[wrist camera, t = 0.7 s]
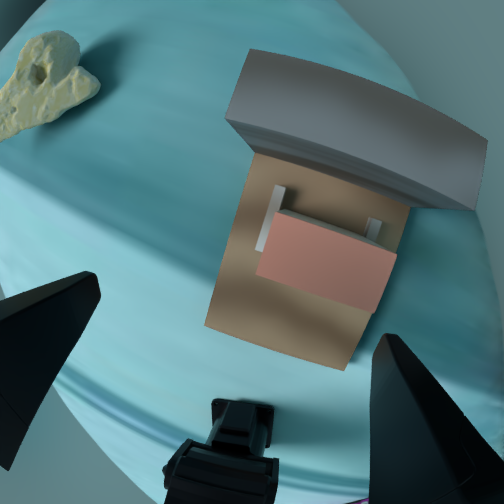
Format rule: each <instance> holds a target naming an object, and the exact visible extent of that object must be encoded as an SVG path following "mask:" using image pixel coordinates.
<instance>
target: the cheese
mask: <svg viewBox="0 0 504 504" xmlns="http://www.w3.org/2000/svg"><path fill="white" fill-rule="evenodd" d="M79 61H80V46H79V43H78V42H77V41H76V40H75V39H74V37H72V36H70V35H69V34H68V33H65V32H64V31H51V32H46V33H43V34H40V35H38V36H36V37H34V38H31V39H30V40H28V41H27V43H26V44H25V46H24V47H23V49H22V50H21V52H20V54H19V59H18V62H17V65H16V69H15V71H14V73H13V75H12V76H11V78H10V79H9V80H8V81H7V83H6V84H5V85H4V87H3V88H2V89H1V90H0V142H2V141H3V140H5V139H7V138H11V137H12V136H14V135H16V134H18V133H19V132H20V131H21V130H25V129H31V128H33V127H35V126H39V125H43V124H44V123H46V122H52V121H54V120H55V119H58V118H59V117H60V116H61V115H62V114H63V113H64V112H65V111H67V110H68V109H70V108H72V107H74V106H77V105H79V104H81V103H82V102H84V101H85V100H87V99H90V98H92V97H93V96H95V95H96V94H97V93H98V92H99V89H100V87H101V83H100V82H99V81H98V79H97V78H96V77H95V76H93V75H92V74H90V73H89V72H88V71H86V70H85V69H84V68H83V67H81V66H78V64H79Z"/></svg>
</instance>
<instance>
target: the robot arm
mask: <svg viewBox="0 0 504 504" xmlns="http://www.w3.org/2000/svg"><path fill="white" fill-rule="evenodd" d="M100 299H101V292H100V287H99V283H98V278H97V276H96V274H94V273H92V272H88V271H83V272H80V273H77V274H74V275H71V276H68V277H66V278H63V279H60V280H57V281H54V282H51V283H48V284H45V285H42V286H40V287H37V288H34V289H31V290H28V291H26V292H23V293H20V294H17V295H14V296H12V297H9V298H6V299H4V300H1V301H0V466H1V467H3V468H4V469H5V470H7V471H9V470H10V467H11V465H12V463H13V461H14V459H15V456H16V454H17V452H18V450H19V447H20V445H21V443H22V441H23V439H24V437H25V435H26V432H27V431H28V429H29V426H30V424H31V422H32V420H33V418H34V416H35V414H36V412H37V410H38V408H39V407H40V405H41V403H42V401H43V399H44V397H45V396H46V394H47V392H48V390H49V388H50V387H51V385H52V383H53V381H54V380H55V378H56V376H57V374H58V373H59V371H60V369H61V368H62V366H63V364H64V363H65V361H66V359H67V358H68V356H69V354H70V353H71V351H72V350H73V348H74V346H75V345H76V343H77V342H78V340H79V338H80V337H81V335H82V333H83V331H84V330H85V328H86V326H87V324H88V322H89V320H90V318H91V316H92V314H93V312H94V311H95V309H96V307H97V305H98V303H99V301H100ZM216 403H218V404H216ZM211 406H212V426H213V428H212V430H211V432H210V435H209V437H208V439H207V442H206V444H203V443H199V442H196V441H193V440H192V439H189V438H188V439H187V440H186V441H185V442H184V443H183V444H182V445H181V446H180V447H179V449H178V450H177V451H176V452H175V454H174V455H173V456H172V457H171V459H170V460H169V461H168V464H167V465H165V466H164V467H163V469H162V472H163V474H164V476H165V478H164V488H165V489H167V490H168V491H167V495H166V498H165V502H164V504H274V501H275V497H276V493H277V487H278V475H279V458H267V457H263V455H264V450H265V448H269V447H270V444H271V435H272V427H273V418H274V408H273V407H272V406H266V405H257V404H249V403H241V402H234V401H227V400H221V399H214V400H213V401H212V403H211ZM268 410H271V411H268ZM266 444H267V445H266ZM368 504H504V461H503V460H502V459H501V458H500V456H499V455H498V454H497V453H496V452H495V451H494V450H493V449H492V448H491V446H490V445H489V444H488V443H487V442H486V441H485V439H484V438H483V437H482V436H481V435H480V434H479V432H478V431H477V430H476V429H475V427H474V426H473V425H472V424H471V422H470V421H469V420H468V418H467V417H466V416H464V413H463V412H462V411H461V410H460V408H459V407H458V406H457V405H456V403H455V402H454V401H453V400H452V398H451V397H450V396H449V395H448V393H447V392H446V391H445V390H444V389H443V387H442V386H441V385H440V384H439V382H438V381H437V380H436V379H435V378H434V376H433V375H432V374H431V373H430V372H429V370H428V369H427V368H426V367H425V366H424V365H423V363H422V362H421V361H420V360H419V359H418V358H417V356H416V355H415V354H414V353H413V352H412V351H411V349H410V348H409V347H408V346H407V345H406V344H405V343H404V341H403V340H402V339H401V338H400V337H399V336H398V335H396V334H390V333H385V334H383V335H382V337H381V339H380V341H379V343H378V345H377V347H376V349H375V351H374V353H373V357H372V373H371V391H370V484H369V501H368Z"/></svg>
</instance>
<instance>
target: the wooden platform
mask: <svg viewBox="0 0 504 504" xmlns="http://www.w3.org/2000/svg"><path fill="white" fill-rule="evenodd" d="M225 119H226V121H227V122H228V123H229V124H230V125H231V126H232V127H233V128H234V129H235V130H236V132H237V133H238V134H239V135H240V136H241V137H242V138H243V139H244V141H245V142H246V143H247V144H248V145H249V146H250V147H251V149H252V150H253V151H254V152H255V154H254V157H253V160H252V164H251V167H250V170H249V173H248V176H247V180H246V183H245V186H244V189H243V193H242V196H241V199H240V202H239V206H238V209H237V212H236V216H235V219H234V222H233V226H232V229H231V232H230V236H229V239H228V243H227V246H226V249H225V253H224V256H223V260H222V263H221V267H220V270H219V274H218V277H217V281H216V284H215V288H214V291H213V295H212V298H211V302H210V306H209V309H208V313H207V317H206V320H205V324H204V326H206V327H209V328H211V329H214V330H217V331H219V332H222V333H225V334H228V335H230V336H233V337H236V338H239V339H241V340H244V341H247V342H250V343H253V344H256V345H259V346H262V347H265V348H268V349H271V350H274V351H277V352H280V353H283V354H286V355H290V356H293V357H296V358H299V359H303V360H306V361H309V362H313V363H316V364H320V365H323V366H327V367H331V368H334V369H338V370H342V371H344V370H345V368H346V366H347V364H348V362H349V360H350V358H351V357H352V355H353V353H354V351H355V349H356V346H357V344H358V342H359V340H360V338H361V336H362V334H363V332H364V330H365V328H366V325H367V323H368V321H369V319H370V317H371V314H372V313H371V312H368V311H364V310H361V309H358V308H355V307H352V306H349V305H346V304H343V303H339V302H336V301H333V300H330V299H327V298H324V297H321V296H318V295H315V294H312V293H309V292H306V291H303V290H300V289H297V288H294V287H291V286H288V285H285V284H282V283H279V282H276V281H273V280H270V279H267V278H264V277H261V276H258V275H255V274H256V271H257V267H258V264H259V261H260V258H261V255H262V252H263V249H264V246H265V243H266V239H267V236H268V233H269V230H270V227H271V224H272V221H273V217H274V214H275V212H276V211H279V210H283V209H287V210H290V211H293V212H296V213H299V214H302V215H305V216H308V217H311V218H314V219H317V220H320V221H323V222H326V223H328V224H331V225H334V226H337V227H340V228H343V229H345V230H348V231H351V232H354V233H357V234H359V235H361V236H363V237H365V238H367V239H369V240H371V241H373V242H375V243H377V244H379V245H380V246H382V247H384V248H386V249H388V250H390V251H392V252H394V253H395V254H396V251H397V248H398V246H399V243H400V240H401V237H402V234H403V231H404V227H405V224H406V221H407V218H408V215H409V211H410V208H411V207H419V208H438V209H454V210H468V211H475V208H476V203H477V199H478V195H479V190H480V185H481V180H482V175H483V169H484V163H485V157H486V150H487V142H488V140H486V139H485V138H484V137H482V136H480V135H479V134H477V133H476V132H474V131H473V130H471V129H469V128H468V127H466V126H464V125H463V124H461V123H459V122H457V121H456V120H454V119H452V118H450V117H448V116H447V115H445V114H443V113H441V112H439V111H437V110H435V109H433V108H431V107H429V106H428V105H425V104H424V103H422V102H419V101H417V100H415V99H413V98H411V97H409V96H407V95H404V94H402V93H400V92H397V91H395V90H393V89H390V88H388V87H386V86H383V85H381V84H378V83H375V82H373V81H370V80H367V79H365V78H362V77H359V76H356V75H353V74H350V73H347V72H344V71H341V70H338V69H335V68H332V67H328V66H325V65H321V64H318V63H314V62H311V61H307V60H303V59H299V58H295V57H290V56H286V55H281V54H276V53H271V52H266V51H261V50H255V49H250V50H249V53H248V55H247V58H246V60H245V63H244V65H243V68H242V71H241V73H240V76H239V79H238V81H237V84H236V87H235V90H234V92H233V95H232V98H231V101H230V104H229V107H228V109H227V112H226V115H225Z"/></svg>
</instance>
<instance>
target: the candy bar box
mask: <svg viewBox="0 0 504 504" xmlns="http://www.w3.org/2000/svg"><path fill="white" fill-rule="evenodd" d="M368 501H369V498H368V499H364V500H360V501H356V502H352V503H348V504H368Z"/></svg>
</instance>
